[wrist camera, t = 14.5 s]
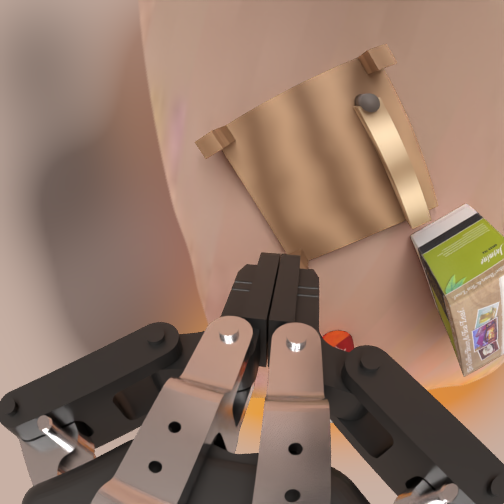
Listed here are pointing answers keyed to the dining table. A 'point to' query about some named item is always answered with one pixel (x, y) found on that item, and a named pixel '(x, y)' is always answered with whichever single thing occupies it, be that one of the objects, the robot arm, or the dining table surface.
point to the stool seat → (321, 159)
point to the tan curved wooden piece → (393, 158)
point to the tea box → (466, 283)
